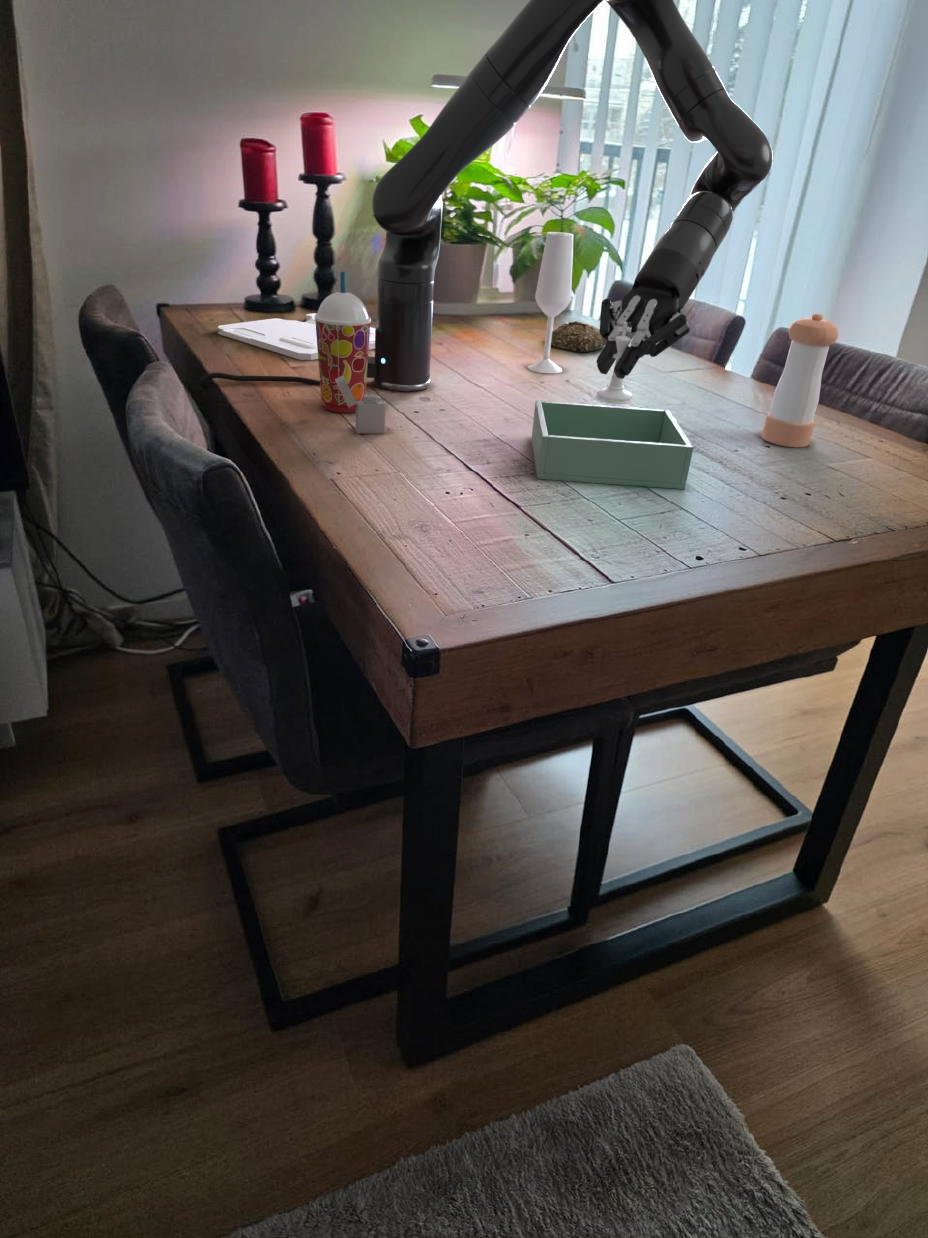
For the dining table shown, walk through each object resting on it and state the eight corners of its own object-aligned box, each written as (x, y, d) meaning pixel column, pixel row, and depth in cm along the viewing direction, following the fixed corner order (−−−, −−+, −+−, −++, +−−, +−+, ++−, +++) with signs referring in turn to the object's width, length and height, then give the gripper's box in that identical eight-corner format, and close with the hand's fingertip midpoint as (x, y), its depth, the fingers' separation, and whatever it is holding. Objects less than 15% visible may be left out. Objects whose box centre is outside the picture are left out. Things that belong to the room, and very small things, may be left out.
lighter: (383, 429, 126) (384, 374, 122) (385, 433, 125) (386, 378, 121) (335, 429, 124) (334, 374, 120) (336, 433, 123) (336, 378, 119)
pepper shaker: (785, 449, 131) (819, 319, 121) (751, 434, 136) (781, 309, 127) (818, 445, 134) (855, 318, 124) (784, 430, 139) (816, 308, 130)
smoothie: (318, 399, 137) (315, 266, 127) (370, 401, 138) (371, 269, 128) (314, 414, 130) (311, 274, 120) (369, 416, 131) (371, 278, 121)
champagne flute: (523, 369, 163) (536, 232, 151) (533, 362, 168) (547, 230, 156) (556, 375, 161) (573, 237, 149) (566, 367, 166) (583, 234, 154)
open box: (537, 478, 112) (542, 436, 110) (531, 438, 127) (535, 400, 124) (684, 489, 113) (693, 447, 110) (662, 448, 127) (669, 410, 124)
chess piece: (631, 405, 113) (644, 327, 108) (594, 401, 114) (605, 323, 109) (632, 396, 117) (645, 320, 112) (597, 392, 118) (607, 316, 113)
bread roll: (613, 346, 187) (617, 322, 184) (589, 355, 177) (593, 330, 175) (561, 336, 192) (564, 313, 190) (535, 344, 183) (538, 320, 180)
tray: (213, 332, 172) (212, 324, 171) (318, 317, 191) (318, 310, 191) (304, 361, 157) (304, 352, 156) (409, 342, 176) (409, 334, 176)
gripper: (624, 239, 115) (557, 343, 113) (716, 254, 107) (646, 366, 105) (639, 278, 121) (576, 378, 119) (727, 295, 113) (661, 401, 111)
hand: (609, 372), depth 112 cm, fingers closed on chess piece
